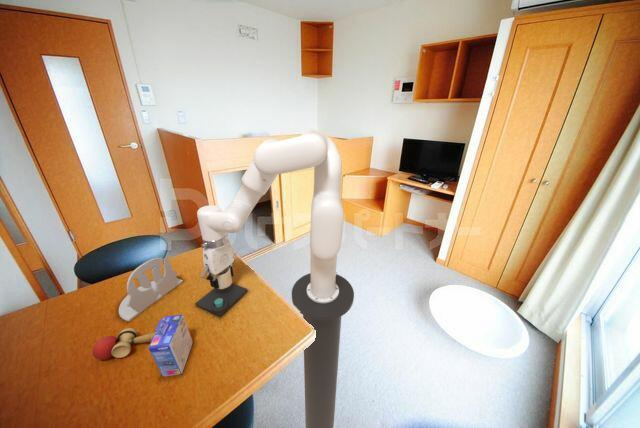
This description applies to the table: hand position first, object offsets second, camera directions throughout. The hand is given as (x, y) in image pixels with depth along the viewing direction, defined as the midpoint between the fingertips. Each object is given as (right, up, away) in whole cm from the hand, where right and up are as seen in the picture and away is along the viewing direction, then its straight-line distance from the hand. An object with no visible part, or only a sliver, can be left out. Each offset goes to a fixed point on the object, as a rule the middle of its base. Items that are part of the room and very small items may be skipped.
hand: (222, 280), depth 90 cm
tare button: (+1, -7, -6) cm, 9 cm away
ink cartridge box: (-4, -17, -21) cm, 27 cm away
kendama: (-19, -15, -18) cm, 30 cm away
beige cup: (0, -1, +1) cm, 1 cm away
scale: (0, -7, 0) cm, 7 cm away
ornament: (-30, -6, +2) cm, 30 cm away
